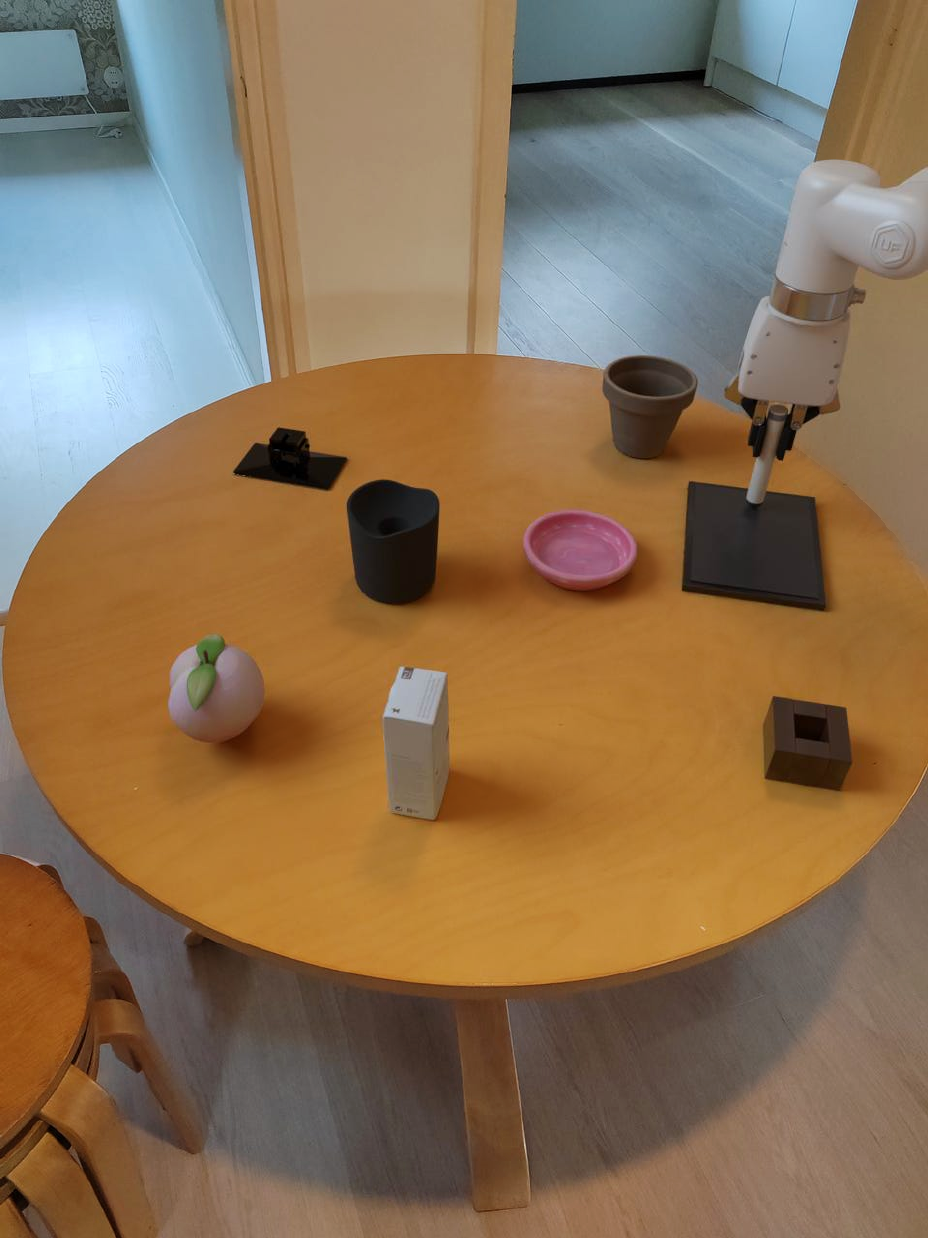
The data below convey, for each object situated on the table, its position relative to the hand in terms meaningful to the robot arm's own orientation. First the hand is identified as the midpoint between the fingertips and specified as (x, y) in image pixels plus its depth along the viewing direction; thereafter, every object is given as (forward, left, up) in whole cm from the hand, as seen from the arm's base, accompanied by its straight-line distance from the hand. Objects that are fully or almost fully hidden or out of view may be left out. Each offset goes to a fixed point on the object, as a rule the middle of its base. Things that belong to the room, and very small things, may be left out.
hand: (767, 451), depth 111 cm
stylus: (0, 0, -8) cm, 8 cm away
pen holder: (+38, +21, -9) cm, 44 cm away
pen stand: (-4, +37, -9) cm, 38 cm away
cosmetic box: (+29, +48, -9) cm, 57 cm away
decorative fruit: (+48, +45, -9) cm, 66 cm away
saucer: (+19, +14, -9) cm, 25 cm away
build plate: (+56, +3, -9) cm, 57 cm away
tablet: (0, +6, -9) cm, 11 cm away
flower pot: (+14, -12, -9) cm, 20 cm away
